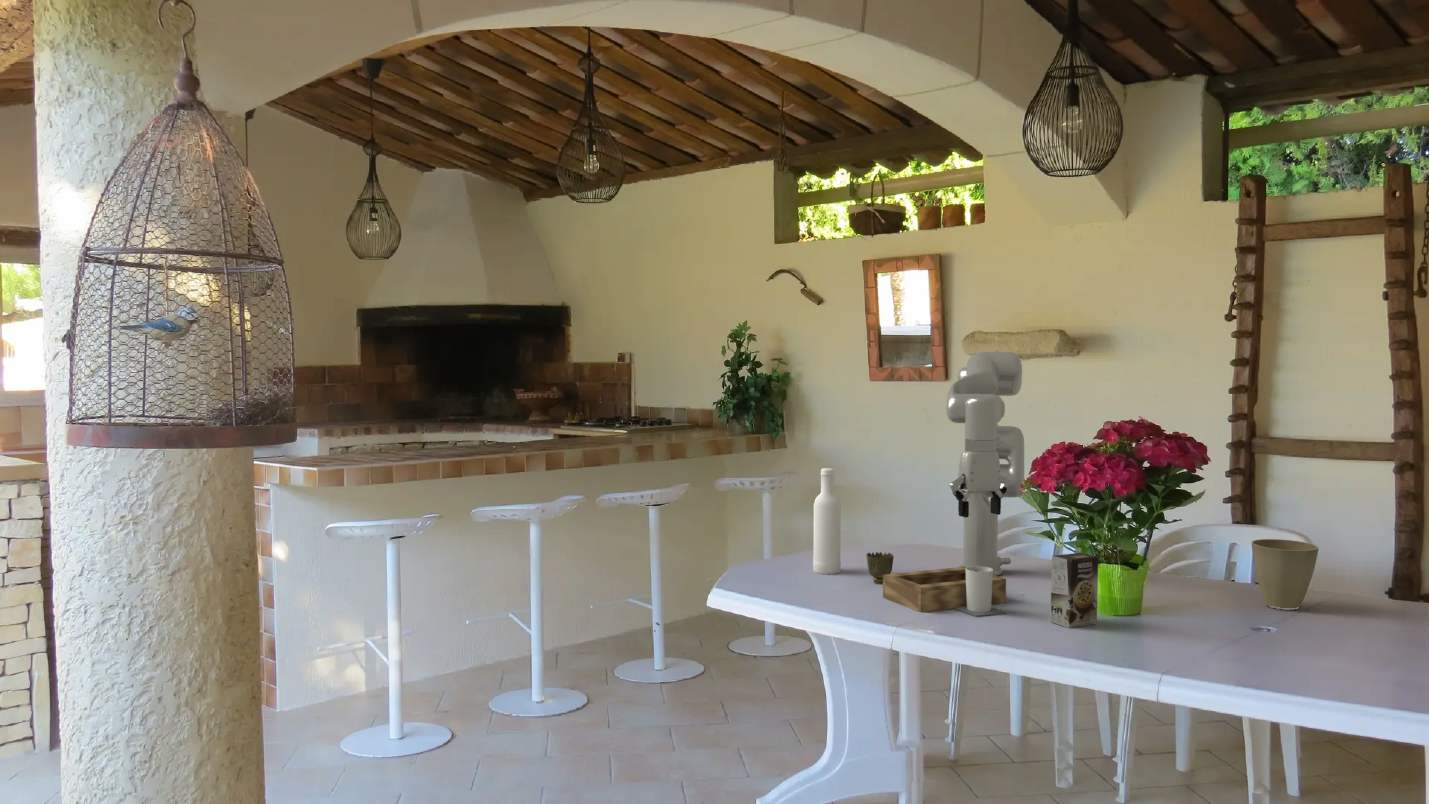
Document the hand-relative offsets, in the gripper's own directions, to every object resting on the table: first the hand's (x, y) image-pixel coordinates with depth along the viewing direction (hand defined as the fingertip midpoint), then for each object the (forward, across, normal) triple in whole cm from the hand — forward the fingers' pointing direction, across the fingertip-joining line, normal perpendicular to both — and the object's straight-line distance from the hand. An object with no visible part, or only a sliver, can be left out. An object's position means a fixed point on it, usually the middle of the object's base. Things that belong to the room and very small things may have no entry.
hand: (979, 515), depth 269 cm
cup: (+24, +6, -36) cm, 43 cm away
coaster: (+24, +1, +2) cm, 24 cm away
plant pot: (+24, -71, +30) cm, 80 cm away
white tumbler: (+23, +1, +2) cm, 23 cm away
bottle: (+24, +12, -54) cm, 61 cm away
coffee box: (+24, -12, +21) cm, 33 cm away
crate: (+24, +2, -12) cm, 26 cm away
